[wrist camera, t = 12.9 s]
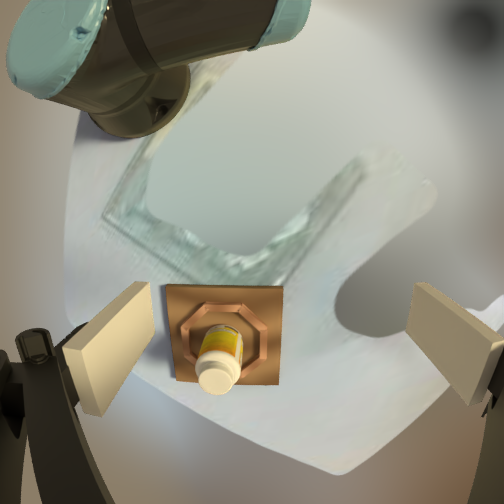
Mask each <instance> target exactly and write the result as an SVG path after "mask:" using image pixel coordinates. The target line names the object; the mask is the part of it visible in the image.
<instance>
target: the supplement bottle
mask: <svg viewBox="0 0 504 504" xmlns="http://www.w3.org/2000/svg"><path fill="white" fill-rule="evenodd" d="M242 353H243V338H242V336H241V334H240V333H239V331H238V330H236V329H235V328H233V327H231V326H229V325H217V326H214V327H212V328H211V329H209V330H208V332H207V333H206V335H205V337H204V340H203V343H202V346H201V349H200V352H199V355H198V358H197V362H196V365H195V371H196V374H197V376H198V382H199V385H200V387H201V388H202V389H203V390H204V391H206V392H207V393H209V394H213V395H221V394H225V393H227V392H228V391H229V390H230V389H231V387H232V385H233V384H235V383H236V382H237V381H238V379H239V377H240V373H241V364H242Z"/></svg>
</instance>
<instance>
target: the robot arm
mask: <svg viewBox="0 0 504 504" xmlns="http://www.w3.org/2000/svg"><path fill="white" fill-rule="evenodd" d="M310 6H311V0H31V1H30V2H29V3H28V4H27V6H26V7H25V9H24V10H23V12H22V14H21V15H20V17H19V19H18V20H17V22H16V24H15V26H14V29H13V31H12V33H11V36H10V39H9V43H8V48H7V54H6V66H7V72H8V75H9V78H10V79H11V81H12V83H13V84H14V85H16V87H18V88H19V89H21V90H23V91H26V92H28V93H31V94H32V95H34V97H35V98H38V99H46V100H50V101H54V102H57V103H60V104H64V105H67V106H70V107H73V108H77V109H80V110H83V111H86V112H88V114H89V116H90V118H91V119H92V121H93V122H94V123H95V124H96V125H97V126H98V127H99V128H100V129H102V130H103V131H105V132H107V133H109V134H112V135H115V136H119V137H123V138H138V137H143V136H146V135H149V134H151V133H154V132H156V131H157V130H159V129H161V128H162V127H164V126H165V125H166V124H168V123H169V122H170V121H171V120H172V119H173V118H174V117H175V116H176V114H177V113H178V112H179V111H180V109H181V107H182V106H183V104H184V102H185V100H186V98H187V95H188V92H189V87H190V70H189V66H188V64H189V63H193V62H196V61H200V60H204V59H208V58H212V57H216V56H221V55H225V54H230V53H235V52H240V51H245V50H247V51H254V50H257V49H258V48H260V47H263V46H268V45H273V44H278V43H284V42H287V41H290V40H292V39H293V38H294V37H295V36H296V35H297V34H298V33H299V32H300V31H301V30H302V29H303V27H304V25H305V23H306V21H307V18H308V14H309V11H310ZM405 332H406V333H407V334H408V335H409V336H410V337H411V338H412V340H413V341H414V342H415V343H416V344H417V345H418V346H419V348H420V349H421V350H422V351H423V352H424V353H425V355H426V356H427V357H428V358H429V359H430V360H431V362H432V363H433V364H434V365H435V366H436V367H437V369H438V370H439V371H440V372H441V373H442V375H443V376H444V377H445V378H446V379H447V381H448V382H449V383H450V384H451V386H452V387H453V388H454V389H455V390H456V392H457V393H458V394H459V395H460V397H461V398H462V399H463V400H464V402H465V403H466V404H467V405H468V406H470V405H473V404H477V403H480V402H482V400H483V398H484V395H485V393H486V391H487V389H488V390H489V391H490V392H491V393H492V395H491V397H490V400H489V402H488V404H487V406H486V408H485V410H484V412H483V414H482V416H481V417H484V415H485V414H486V413H487V418H486V425H485V432H484V438H483V443H482V448H481V453H480V458H479V463H478V467H477V471H476V475H475V479H474V482H473V486H472V490H471V493H470V496H469V500H468V503H467V504H504V338H502V337H501V336H500V335H499V334H498V333H496V332H495V331H494V330H492V329H491V328H490V327H488V326H487V325H486V324H484V323H483V322H482V321H480V320H479V319H478V318H476V317H475V316H474V315H472V314H471V313H469V312H468V311H467V310H465V309H464V308H462V307H461V306H460V305H458V304H457V303H455V302H454V301H453V300H451V299H450V298H448V297H447V296H445V295H444V294H443V293H441V292H440V291H438V290H437V289H435V288H434V287H432V286H431V285H429V284H428V283H426V282H425V283H414V289H413V295H412V301H411V306H410V312H409V317H408V322H407V327H406V331H405ZM154 334H155V328H154V320H153V312H152V304H151V294H150V284H149V282H134V283H133V284H132V285H130V286H129V287H128V288H127V289H126V290H125V291H123V292H122V293H121V294H120V295H119V296H118V297H117V298H115V299H114V300H113V301H112V302H111V303H110V304H109V305H107V306H106V307H105V308H104V309H103V310H102V311H101V312H100V313H99V314H97V315H96V316H95V317H94V318H93V319H92V320H91V321H90V322H86V323H84V324H82V325H80V326H78V327H76V328H75V329H74V330H73V331H72V332H71V334H69V335H67V336H66V338H65V339H63V340H62V341H61V342H60V343H59V344H57V346H55V347H54V346H53V343H52V339H51V335H50V333H49V331H48V330H46V329H43V328H34V329H29V330H25V331H23V332H22V333H20V334H19V335H18V336H16V339H15V342H16V345H17V349H18V352H19V355H20V358H21V360H22V363H14V362H10V361H9V359H8V356H7V353H6V352H5V351H4V350H0V504H20V503H21V484H22V472H23V462H24V454H25V447H26V440H27V434H28V441H29V447H30V453H31V457H32V463H33V468H34V473H35V477H36V482H37V486H38V489H39V493H40V497H41V501H42V504H115V502H114V500H113V498H112V496H111V494H110V493H109V491H108V489H107V486H106V484H105V482H104V480H103V478H102V476H101V474H100V472H99V469H98V467H97V465H96V462H95V461H94V458H93V455H92V453H91V451H90V448H89V446H88V443H87V440H86V438H85V435H84V432H83V430H82V427H81V424H80V421H79V418H78V415H77V413H76V410H75V408H74V407H75V406H76V404H77V403H78V402H79V401H80V404H81V406H82V409H83V412H84V413H86V414H90V415H94V416H98V417H103V415H104V413H105V412H106V410H107V409H108V407H109V405H110V404H111V402H112V400H113V399H114V397H115V395H116V394H117V392H118V391H119V389H120V387H121V386H122V384H123V383H124V381H125V379H126V378H127V376H128V374H129V373H130V371H131V370H132V368H133V367H134V365H135V364H136V362H137V360H138V359H139V357H140V356H141V354H142V353H143V351H144V349H145V348H146V346H147V345H148V343H149V342H150V340H151V339H152V337H153V336H154Z"/></svg>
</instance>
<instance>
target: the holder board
mask: <svg viewBox="0 0 504 504" xmlns="http://www.w3.org/2000/svg"><path fill="white" fill-rule="evenodd" d="M166 299H167V309H168V319H169V328H170V336H171V345H172V352H173V360H174V367H175V374H176V381H183V382H196V383H199V382H198V376H197V374H196V371H195V365H196V362H197V358H198V355H199V352H200V349H201V346H202V343H203V340H204V337H205V335H206V333H207V332H208V330H209V329H211V328H212V327H214V326H217V325H229V326H231V327H233V328H235V329H236V330H238V331H239V333H240V334H241V336H242V338H243V353H242V364H241V373H240V377H239V379H238V381H237V382H236V383H235V384H233V385H279V370H280V352H281V332H282V310H283V286H238V285H189V284H167V285H166Z"/></svg>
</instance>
